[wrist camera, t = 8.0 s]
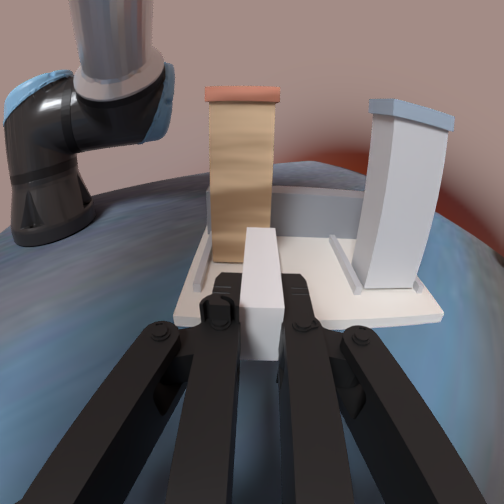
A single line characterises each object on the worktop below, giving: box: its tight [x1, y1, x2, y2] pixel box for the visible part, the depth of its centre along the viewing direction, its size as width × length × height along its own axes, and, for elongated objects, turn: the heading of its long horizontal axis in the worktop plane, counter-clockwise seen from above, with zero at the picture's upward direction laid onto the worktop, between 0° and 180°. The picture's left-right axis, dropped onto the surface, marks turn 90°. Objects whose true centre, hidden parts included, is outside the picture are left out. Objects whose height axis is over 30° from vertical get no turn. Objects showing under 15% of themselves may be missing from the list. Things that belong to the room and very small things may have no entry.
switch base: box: [173, 185, 444, 330], centre depth 27 cm, size 18×22×6 cm
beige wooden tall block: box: [205, 86, 280, 262], centre depth 24 cm, size 5×6×15 cm
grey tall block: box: [351, 99, 455, 289], centre depth 21 cm, size 5×6×15 cm
